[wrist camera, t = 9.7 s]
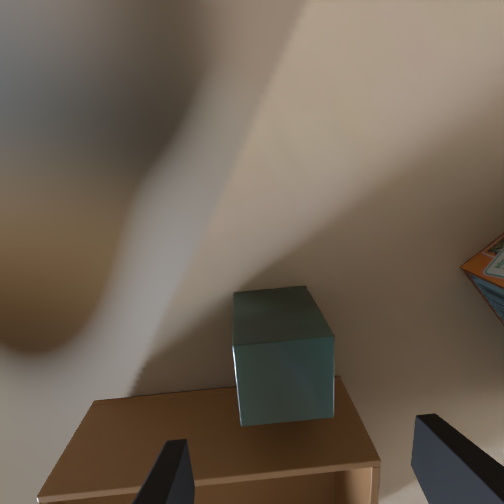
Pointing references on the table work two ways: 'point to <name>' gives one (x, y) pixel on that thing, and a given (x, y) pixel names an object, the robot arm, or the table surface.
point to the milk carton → (489, 275)
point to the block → (282, 357)
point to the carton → (217, 453)
